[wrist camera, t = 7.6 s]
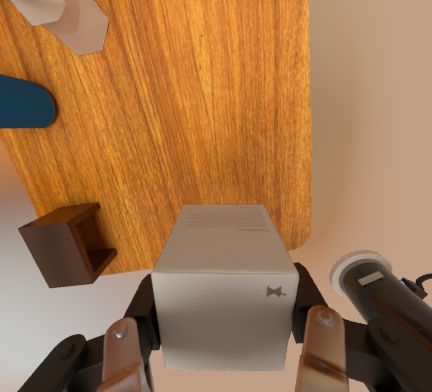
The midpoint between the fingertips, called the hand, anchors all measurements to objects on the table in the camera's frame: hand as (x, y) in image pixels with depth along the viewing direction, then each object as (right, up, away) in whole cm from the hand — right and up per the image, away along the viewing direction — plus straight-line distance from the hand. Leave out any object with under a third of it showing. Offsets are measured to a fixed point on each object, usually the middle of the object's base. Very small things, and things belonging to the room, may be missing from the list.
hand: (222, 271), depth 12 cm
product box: (0, +1, +4) cm, 4 cm away
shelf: (-24, -2, +26) cm, 35 cm away
